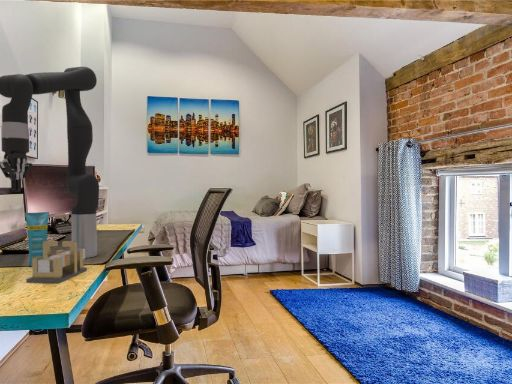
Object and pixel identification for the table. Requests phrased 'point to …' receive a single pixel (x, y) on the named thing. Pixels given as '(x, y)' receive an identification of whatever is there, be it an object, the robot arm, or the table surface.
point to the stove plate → (65, 276)
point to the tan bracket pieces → (55, 266)
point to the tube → (36, 233)
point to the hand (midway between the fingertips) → (16, 191)
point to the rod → (48, 262)
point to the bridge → (64, 244)
